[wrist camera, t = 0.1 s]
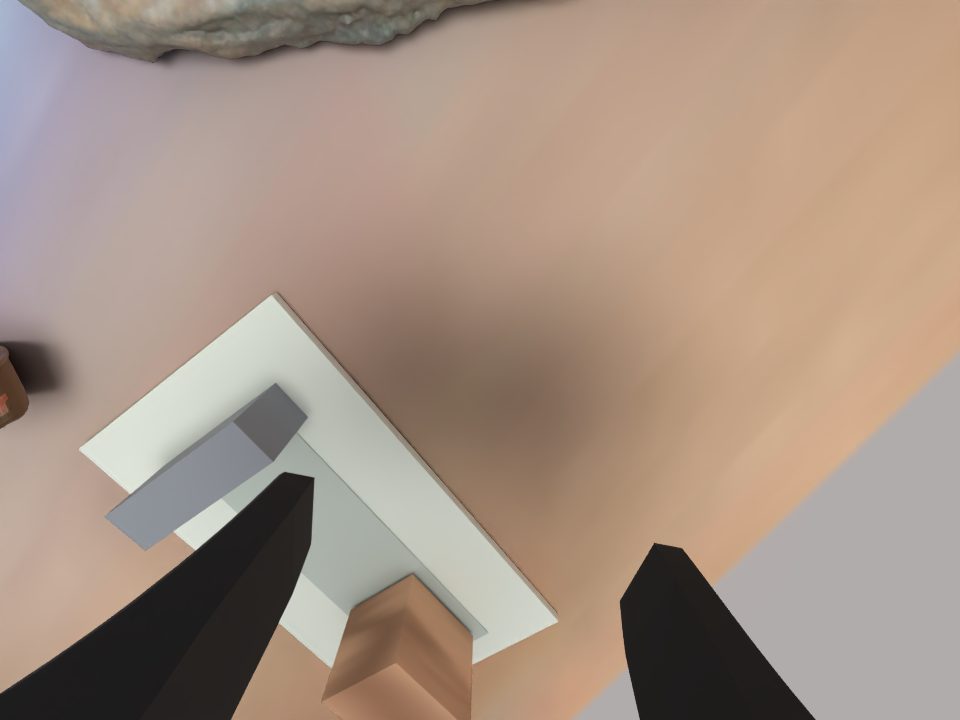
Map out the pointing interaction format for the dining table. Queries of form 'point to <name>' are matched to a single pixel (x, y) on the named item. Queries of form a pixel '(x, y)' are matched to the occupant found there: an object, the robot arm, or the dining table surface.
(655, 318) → the dining table surface
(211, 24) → the long grey stone
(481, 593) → the board
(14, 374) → the tin
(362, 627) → the block
